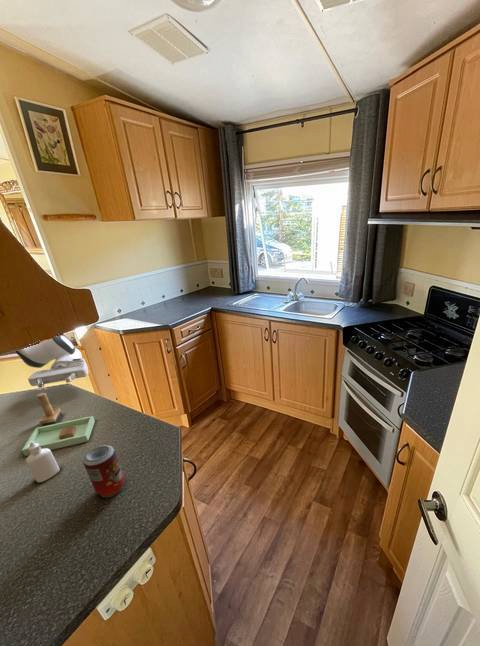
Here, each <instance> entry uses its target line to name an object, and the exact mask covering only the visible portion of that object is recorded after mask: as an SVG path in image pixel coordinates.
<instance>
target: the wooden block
mask: <svg viewBox="0 0 480 646" xmlns="http://www.w3.org/2000/svg"><path fill="white" fill-rule="evenodd" d="M76 430H77V429H76V426H73V427H69V428H64V429H62V430H61V432H60V434H59V438H60V440H61V439H65V438H69V437H74V435H75V433H76Z"/></svg>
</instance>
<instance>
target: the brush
mask: <svg viewBox="0 0 480 646" xmlns="http://www.w3.org/2000/svg"><path fill="white" fill-rule="evenodd" d="M36 398H37V400H38V402H39V404H40V407H41V409H42V411H43V413H44V414H43V415H42V417H41V418H40V419H39V424H40V425H42V427H43V426H48V425H53V424H57V423H60V420H61V418H62V417H63V413H62V409H61V407H56V408H53V407H52V404H51V402H50V399H49V397H48V395H47V393H46V392H40V393H37V394H36Z"/></svg>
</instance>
